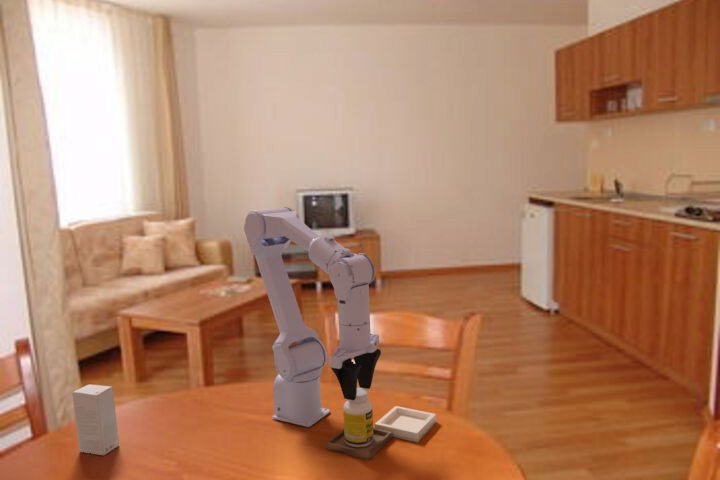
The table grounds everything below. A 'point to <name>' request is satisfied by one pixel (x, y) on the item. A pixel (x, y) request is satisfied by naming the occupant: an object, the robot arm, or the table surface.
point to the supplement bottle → (358, 420)
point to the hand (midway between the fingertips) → (357, 393)
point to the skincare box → (96, 419)
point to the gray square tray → (363, 452)
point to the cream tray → (407, 423)
